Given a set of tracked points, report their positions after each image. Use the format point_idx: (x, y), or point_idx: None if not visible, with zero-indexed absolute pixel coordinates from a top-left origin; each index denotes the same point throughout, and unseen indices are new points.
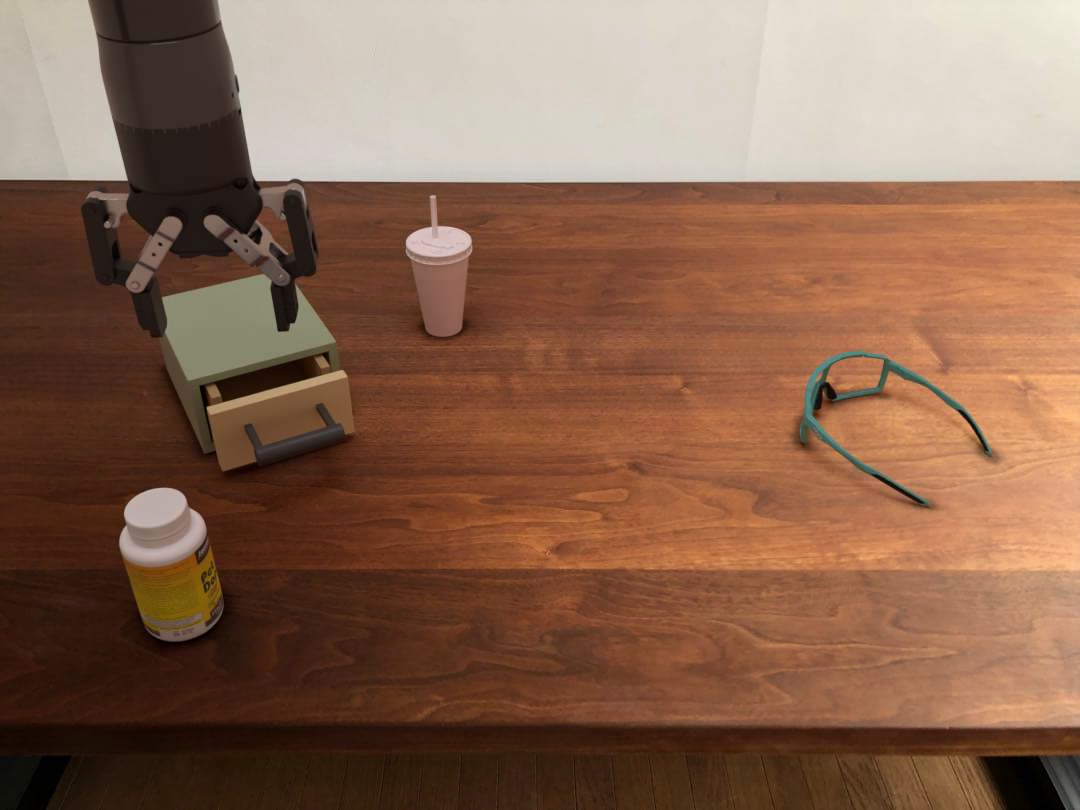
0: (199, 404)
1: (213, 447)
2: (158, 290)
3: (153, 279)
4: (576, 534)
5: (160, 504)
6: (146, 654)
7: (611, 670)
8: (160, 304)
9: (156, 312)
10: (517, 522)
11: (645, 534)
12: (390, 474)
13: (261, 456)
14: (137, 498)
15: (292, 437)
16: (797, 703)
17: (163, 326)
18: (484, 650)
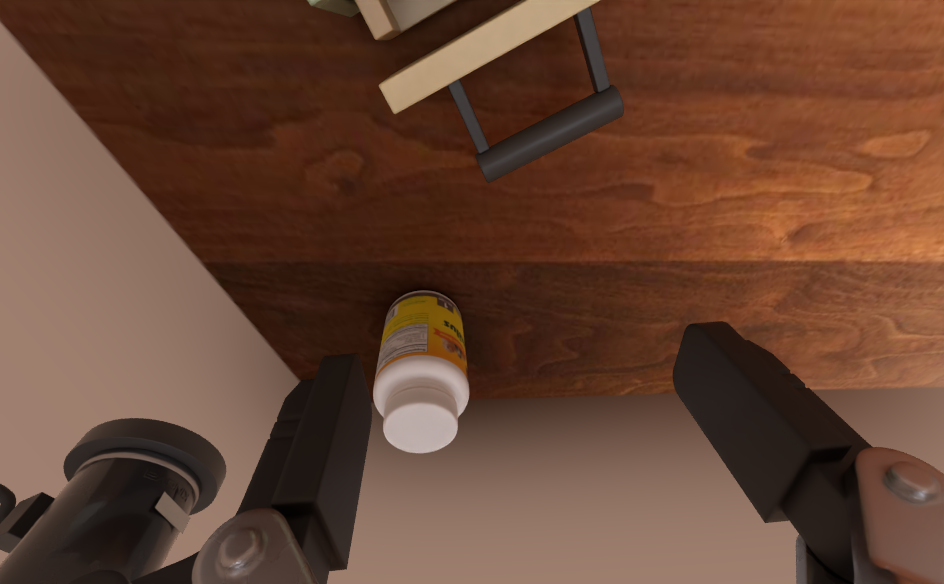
0: (338, 4)
1: None
2: (332, 460)
3: (313, 515)
4: (826, 212)
5: (425, 426)
6: None
7: None
8: (346, 428)
9: (358, 473)
10: (773, 192)
11: (895, 213)
12: (645, 88)
13: (492, 180)
14: (393, 421)
15: (539, 139)
16: (876, 378)
17: (363, 394)
18: None
